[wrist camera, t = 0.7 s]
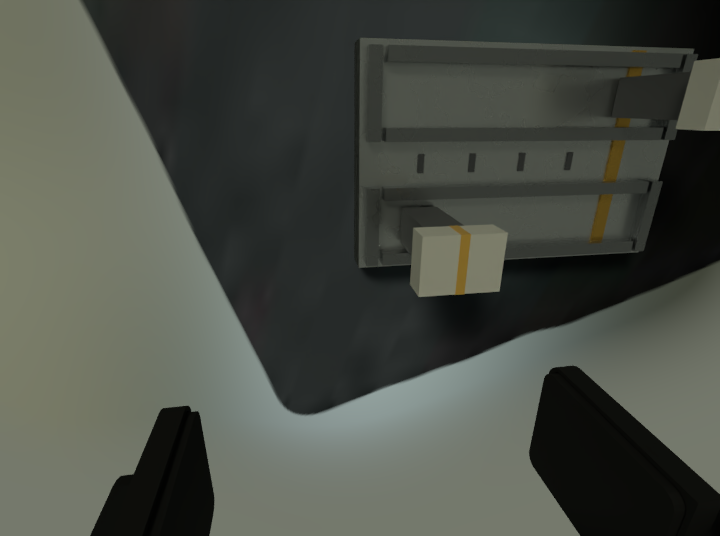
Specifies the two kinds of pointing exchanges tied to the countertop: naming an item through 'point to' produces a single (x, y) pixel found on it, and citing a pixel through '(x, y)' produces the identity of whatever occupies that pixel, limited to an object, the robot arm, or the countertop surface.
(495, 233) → the fader knob
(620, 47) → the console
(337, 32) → the countertop surface
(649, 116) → the white striped slider handle
